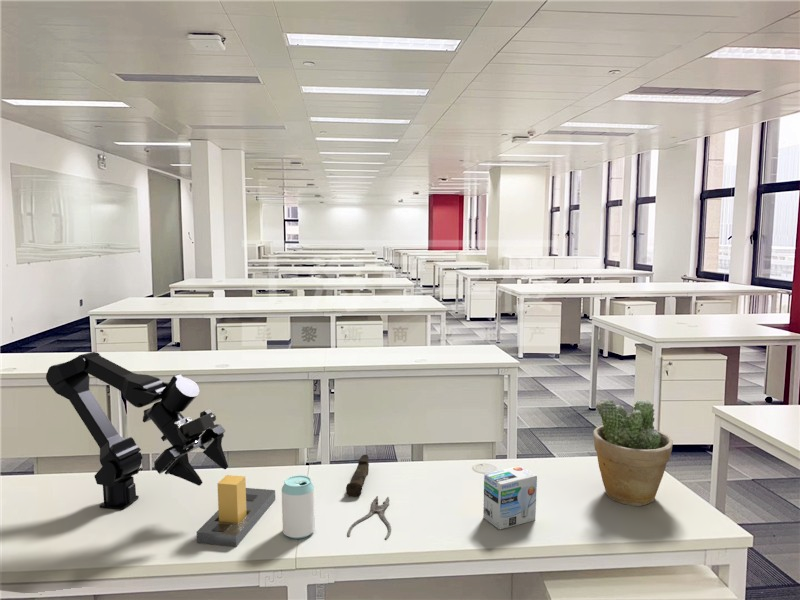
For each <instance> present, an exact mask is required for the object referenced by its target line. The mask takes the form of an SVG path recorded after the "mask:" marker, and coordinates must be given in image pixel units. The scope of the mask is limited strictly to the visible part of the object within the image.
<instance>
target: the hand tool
mask: <svg viewBox="0 0 800 600" xmlns="http://www.w3.org/2000/svg"><path fill="white" fill-rule="evenodd" d="M369 460H370V459H369V456H368V454H362V455H361V456H360V458H359V459H358V460H357V461H358V464H357V466H356V468H355V471H354V473H353V475H352V477H351V479H350V481H349V483H347V484H346V487H345V491H346V493H345V494H346V495H347V496H348V497H352V498H358V497H360V496H362V491H363V487H364V484H365V481H366V478H367V477H368V475H369V468H370V467H369V466H370V463H369Z"/></svg>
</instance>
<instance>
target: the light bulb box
mask: <svg viewBox="0 0 800 600" xmlns="http://www.w3.org/2000/svg"><path fill="white" fill-rule="evenodd" d="M483 475H484V477H483V479H484V480H483V515H482V517H483V518H484V519H485V520H486V521H487V522H489V523H490V524H491V525H493V526H494V527H496V528H497V529H498V530H505V529H507V528H511V527H514V526H515V527H516V526H519V525H522V524H525V523H529V522H532V521H533V522H534V521H536V513H537V512H536V511H537V508H536V507H537V487H538V486H537V485H538V476H537V475H536V474H534V473H533V472H531V471H530V470H527V469H526V468H523V467H522V466H520V465H517V466H516V465H515V466H514V467H508V468H504V469H501V470H500V469H499V470H496V471H491V472H487V473H484V474H483Z"/></svg>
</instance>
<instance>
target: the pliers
mask: <svg viewBox="0 0 800 600" xmlns="http://www.w3.org/2000/svg"><path fill="white" fill-rule="evenodd" d="M389 497H390V496H387V497H386V498H385V500H384V501H383V502H382V504H380V505H379V496H378V495H377V496H376V497H375V498H374V499H373V500H372V502H371V505H370V506H371V508H370V509H369V512H368V513H367V514H365V515H364V516H363V517H361V518H359V519H357V520H356V521H354V522H353V523H352V524H351V525H350V527H349V528H348V531H347V532H346V533H347V534H346V535H347V537H348V538H349V537H351V532H352V530H353V528H354V527H356V526H357V525H359V524H360V523H362V522H364V521H366V520H368V519H369V518H371V517H372V516H374V515H375V514H378V516H379V518H380V520H381V521H382V522H383V524H385V526H386V528H387V532H386V533H387V534H386V536H385V537H384V540H385V541H387V540H388V539H389V538H390V536H391V533H392V526H391V523H390V522H389V521H388V519H387V518H386V516H385V511H386V510H387V509H388V508H389V506H390V500H389V499H390V498H389Z"/></svg>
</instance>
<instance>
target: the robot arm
mask: <svg viewBox="0 0 800 600" xmlns="http://www.w3.org/2000/svg"><path fill="white" fill-rule="evenodd" d="M90 376H91V377H92V376H93V378H96V379H98V380H100V381H101V382H104V383H105V384H108V385H109V386H111V387H113V388H114V389H116V390H118V391H120V392H121V393H122V396H123V399H125V400H126V401H127V402H128V403H129V404H130V405H132V406H133V407H135V408H143V407H145V406H148V405H151V407H149V408H147V409H144V410H143V416H142V422H143V423H146V422H149V421H152V422H153V423H154V425H155V426H156V428H157V429H158V430H159V431H160V433H162V436H161V437H160V439H161V440H162V442H165V441H168V442H169V443H170V445H171V446H170V447H167V448H166V449H164V450H163V451H162V452H161V454H160V455H159V456H158V457H157V458H155V460H154V462H153V465H154V466H153V467H154V470H155V471H156V472H157V473H158V474H159V475H161V474H163V473H164V474H165V475H166V476H167V475H171V476H174V477H177V478H180V479H183V480H185V481H187V482H190V483H192V484H193V485H197V486H199V487H200V486H202V484H203V480H202V479H201V476H199V474H198V472H197V471H196V470H195V469H194V467H193V466H192V464H191V463H190V462H189V454H190V453H191V452H193V451H194V450H197V448H198V449H202V450H203V451H202V454H204V455H206V457H208V458H209V459H211V460H212V461H213V462H214V463H215V464H217V466H219V467H220V468H222V469H223V470H227V469H228V468H229V465H228V462H227V459H226V456H225V452H224V451H223V447H222V440H223V438H224V437H225V435H224V434H225V433H226V429H225V428H224V427H223V425H221V424H217V423H216V424H215V423H214V422H215V421H216V420H217V417H216V414H215V413H214V412H213V411H212V410H211V409H210V408H207V409H206V410H204V411H201V412H200V413H199V417H197V418H195V419H192V417H191V416H186V417H185V416H184V415H183V414H182V413H181V412H184V411H186V409H187V408H188V407H189V405H190V404H191V403H193V401H194V400H195V399H196V397H198V395H199V394H200V387H199V385H198V384H197V382H195V381H193V380H192V379H190V378H188V377H185V376H184V377H183V375H182V374H181V373H178V374H176V375H173V376H172V377H171V379H170V380H169V382H164V381H162V379H160V378H159V377H157V376H153V375H149V374H141V373H135V372H132V371H130V370H128V369H127V368H125V367H123V366H121V365H118V364H117V363H115V362H113V361H112V360H109V359H107V358H105V357H103V356H102V355H101V354H100V353H99V352H95V351H93V352H92V351H91V352H88V353H83V354H78V356H75V358H73V359H70V360H68V361H66V362H62V363H61V362H60V363H57V364H54V365H51V366H50V367H49V368H48V370H47V372H46V374H45V380H46V382H47V384H48V385H49V386H50V387H51V389H52V390H53V391H54V392H55V394H57V395H60V396H61V397H63V398H65V399H67V400H69V402H70V403H71V405H72V407H73V408H74V410H75V411H76V413H77V414H78V417H80V419H81V421H82V422H83V424H84V426H85V427H86V429H87V430H88V432H89V433H90V435H91V437H92V438H93V439H94V441H95V443H96V444H97V446H98V447H99V463H100V466H101V468H100V469H99V470H98V471H97V472H96V473H95V474H94V479H95V483H96V484H97V485H100V486H102V494H103V495H102V496H103V502H102V503H101V504H99V508H101V509H102V508H103V509H113V510H114V509H115V510H124V509H126V508H127V507H128V506H130V505H131V504H132V503H134V502H136V501H137V500H138V499H139V496H140V495H137V493H136V492H137V491H136V483H135V480H134V475H138V474H139V472H140V469H141V468H140V467H141V466H142V463H143V462H142V461H143V455H142V452H141V451H142V449H141V448H140V447H139V446H138V444H137V443H136V441H135V439H134V438H133V437H131V436H130V437H127V438H124V437H122V436H121V435H120V434H119V433H118V431H117V429H116V428H115V426H114V425H113V424H112V422H111V420H110V419H109V417H108V416H107V414H106V412H105V411H104V410H103V408H102V406H101V404H100V403H99V401H98V400H97V399H96V397H95V395H94V394H93V393H92V391H91V390H90V379H91V377H90Z"/></svg>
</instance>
